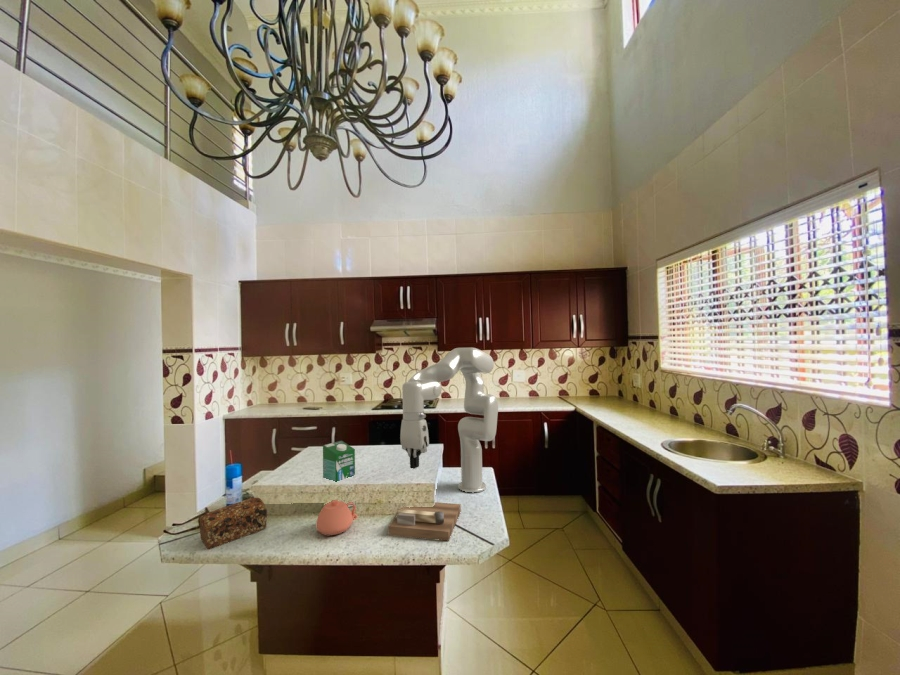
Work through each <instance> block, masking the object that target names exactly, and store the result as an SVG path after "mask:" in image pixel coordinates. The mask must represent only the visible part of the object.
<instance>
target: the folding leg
mask: <svg viewBox="0 0 900 675" xmlns="http://www.w3.org/2000/svg"><path fill="white" fill-rule="evenodd" d="M399 513H404V514H415V521H419V522H429V523H436V524H442V523H444V513H443V512H441V511H438V512H427V511H416V510H405V509H402V508H401V509H398V511H397V512H396V516H397V515H398V514H399Z"/></svg>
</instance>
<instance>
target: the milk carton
mask: <svg viewBox="0 0 900 675" xmlns="http://www.w3.org/2000/svg"><path fill="white" fill-rule="evenodd" d="M354 475H355V476H356V451H355V448H354V447H352V446H351V445H349V444H348V443H346V442H344V441H343V440H338V441H334V442H331V443H330V442H329V443H327V444H324V445H323V444H322V479H323V478H326V479H329V480H333V481H335V482H337V481H340V480H343V479H346V478H348V477H352V476H354Z"/></svg>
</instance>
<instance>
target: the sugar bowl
mask: <svg viewBox="0 0 900 675" xmlns="http://www.w3.org/2000/svg"><path fill="white" fill-rule="evenodd" d="M348 505H353V506H352V511H351V508H350V507H348ZM355 512H356V503H355V504H354V503H353V502H349V503H347V504H346V503H345V502H343V501H338V500H332V501H331V502H329V503H327V504H325V505H324V507H322V508H321V510H320V511H319V514H318V516H317V518H316V519H317V520H316V523H315V528H316V530H317V531H318V532H319V533H320V534H322V535H324V536H326V535H331V536H335V535H340V534H342V532H343V533H346V532H347V531H348V529H349V528H350V527H351V526H352V524H353V521H356V519H357V518H358V514H357V513H355Z"/></svg>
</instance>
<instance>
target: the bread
mask: <svg viewBox="0 0 900 675" xmlns="http://www.w3.org/2000/svg"><path fill="white" fill-rule="evenodd" d="M267 522H268V509H267V506H266V505H265V503H264V501H263V499H261V498H260V497H250V498H247V499H244V500H242V501H239V502H238V501H237V502H234V503H232V504H229V505H226V506H224V507H221V508H218V509H214V510H212V511H209V512H207V513H204V514H203V515H202V516H201V517H200V519H199V534H200V539H201V541H202V543H203V544H204V547H205V548H206V549H207V550H212V549H214V548H215V547H219V545H220V546H223V545H225V544H228V542H229V543H231V542H233V541H236V540H238V539H242V538H245V537H247V536H249V535H254V534H256V533H258V532H260V531H262V530H264V529H266V528H267ZM222 544H223V545H222Z"/></svg>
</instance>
